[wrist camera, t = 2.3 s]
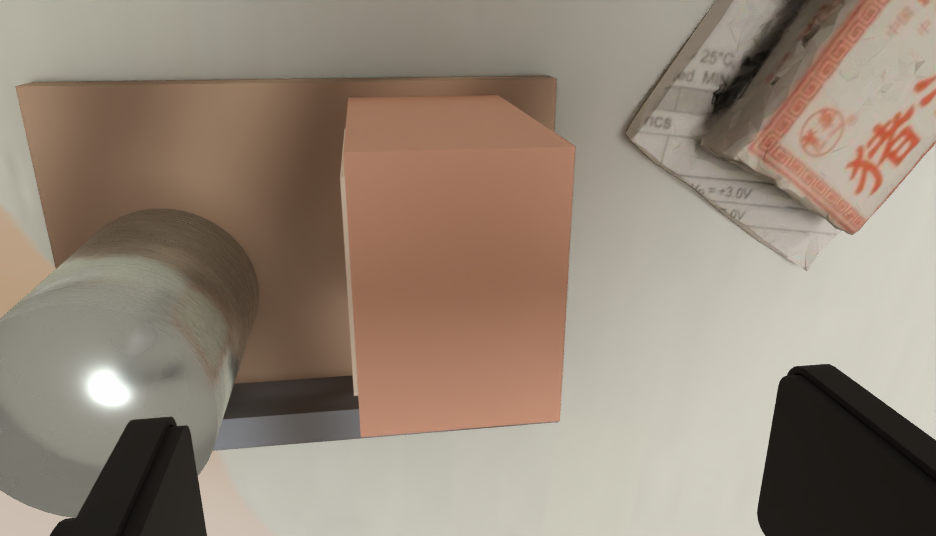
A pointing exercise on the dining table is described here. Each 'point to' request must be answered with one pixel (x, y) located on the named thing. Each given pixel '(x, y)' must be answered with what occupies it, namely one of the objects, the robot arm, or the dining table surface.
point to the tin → (121, 351)
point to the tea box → (454, 262)
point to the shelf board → (240, 209)
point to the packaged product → (797, 113)
